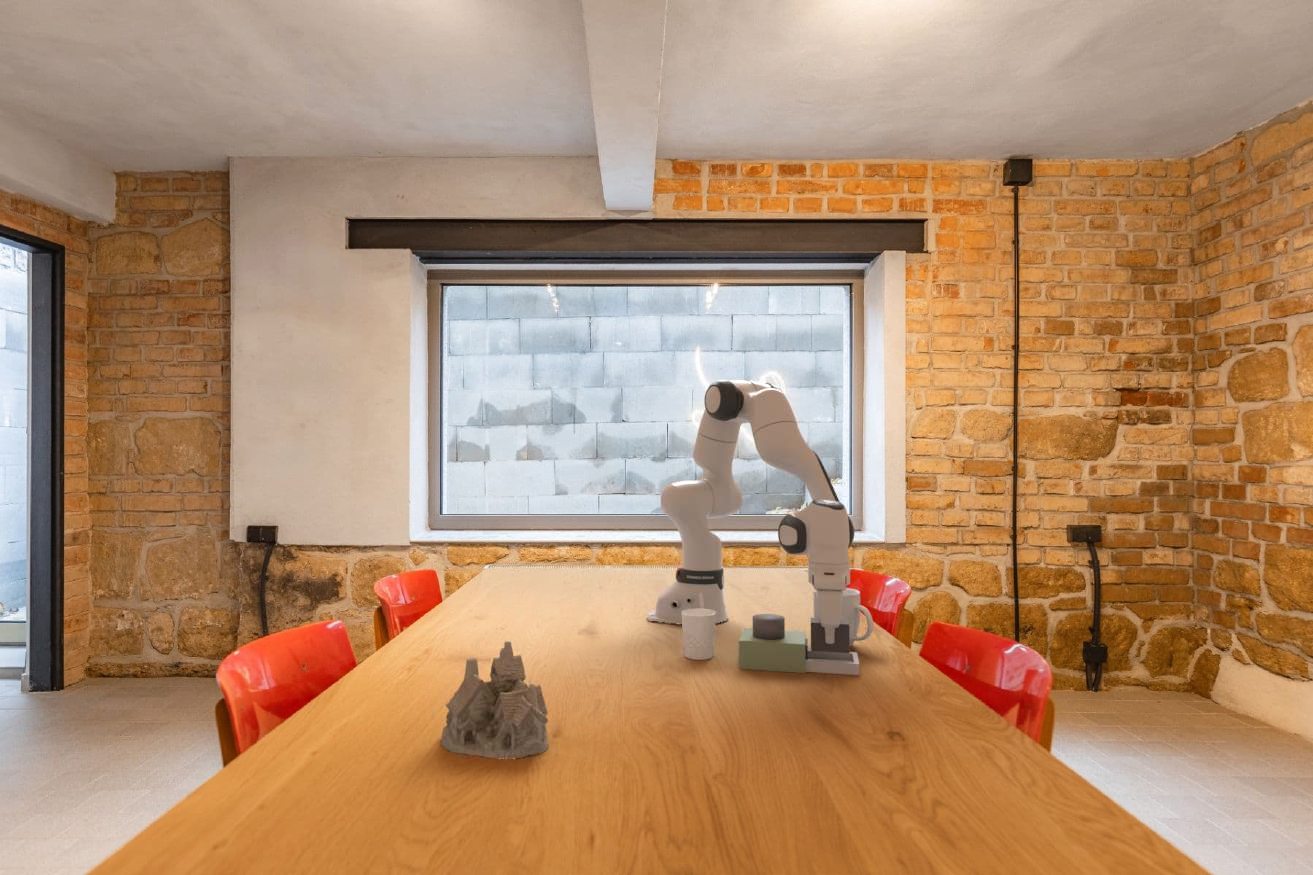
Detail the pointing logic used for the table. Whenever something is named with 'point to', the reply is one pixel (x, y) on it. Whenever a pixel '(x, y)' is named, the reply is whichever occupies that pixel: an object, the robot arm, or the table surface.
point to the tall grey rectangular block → (840, 637)
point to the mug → (850, 613)
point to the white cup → (698, 633)
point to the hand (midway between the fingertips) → (829, 638)
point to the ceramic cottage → (496, 712)
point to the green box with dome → (788, 650)
